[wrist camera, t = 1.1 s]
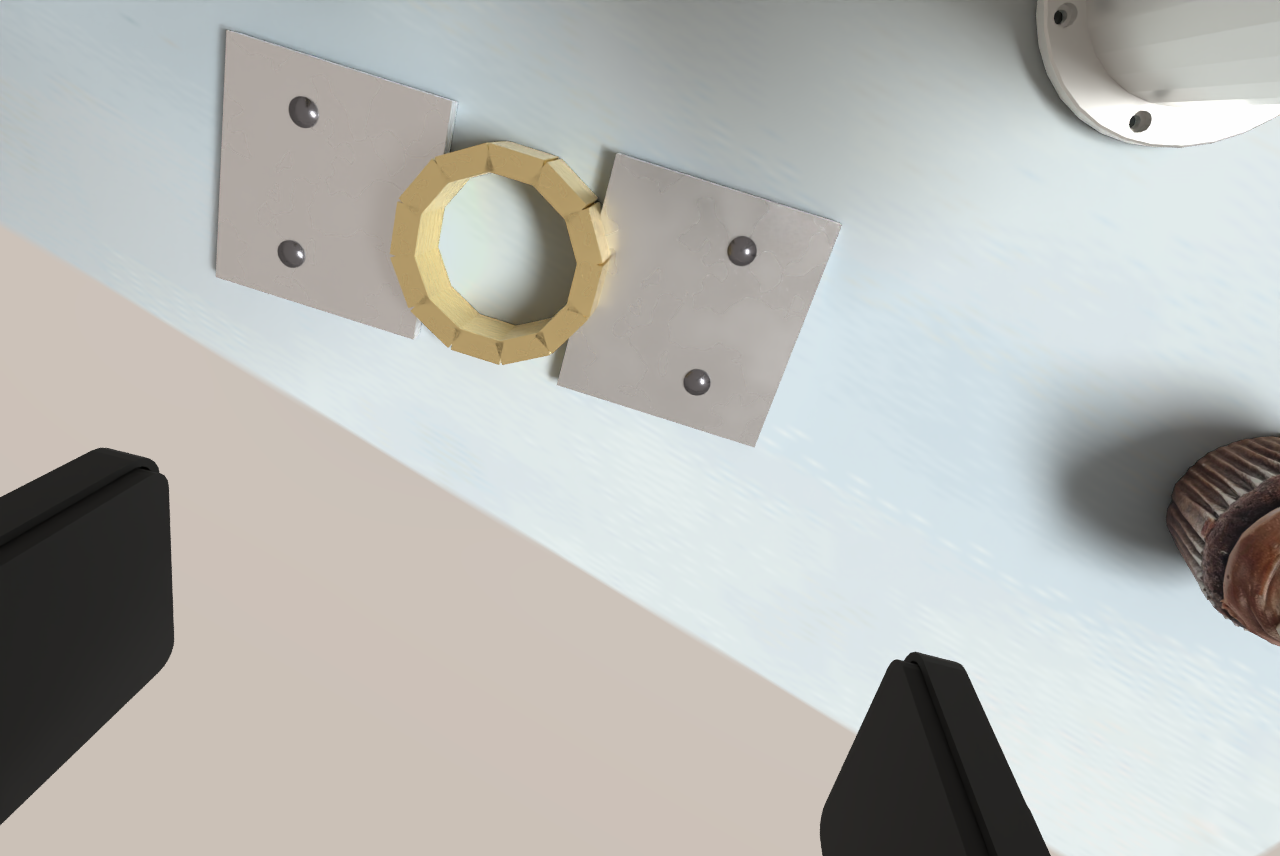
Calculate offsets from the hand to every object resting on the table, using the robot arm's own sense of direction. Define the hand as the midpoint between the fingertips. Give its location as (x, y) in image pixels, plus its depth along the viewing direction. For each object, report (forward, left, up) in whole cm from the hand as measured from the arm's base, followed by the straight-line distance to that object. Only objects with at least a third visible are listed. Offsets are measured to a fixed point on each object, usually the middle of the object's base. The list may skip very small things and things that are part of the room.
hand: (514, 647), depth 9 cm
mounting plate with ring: (+2, -8, -29) cm, 31 cm away
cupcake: (+3, +32, -30) cm, 44 cm away
